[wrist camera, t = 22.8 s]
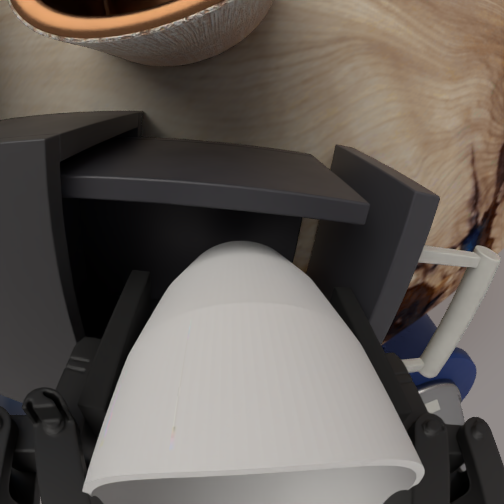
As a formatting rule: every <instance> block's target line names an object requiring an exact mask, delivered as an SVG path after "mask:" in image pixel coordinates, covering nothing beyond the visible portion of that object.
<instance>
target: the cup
mask: <svg viewBox="0 0 504 504" xmlns="http://www.w3.org/2000/svg"><path fill="white" fill-rule="evenodd" d="M424 473H425V470H424V467H423V465H422V463H421V461H420V458H419V456H418V454H417V452H416V450H415V448H414V446H413V444H412V442H411V440H410V438H409V436H408V434H407V432H406V430H405V428H404V426H403V424H402V422H401V420H400V418H399V416H398V414H397V412H396V410H395V408H394V406H393V404H392V402H391V400H390V398H389V396H388V394H387V392H386V390H385V388H384V386H383V384H382V383H381V381H380V379H379V377H378V375H377V373H376V371H375V369H374V368H373V366H372V364H371V362H370V360H369V358H368V356H367V355H366V353H365V351H364V349H363V347H362V345H361V344H360V342H359V341H358V339H357V338H356V337H355V335H354V334H353V333H352V331H351V330H350V329H349V328H348V326H347V325H346V324H345V322H344V321H343V320H342V318H341V317H340V316H339V314H338V313H337V312H336V310H335V309H334V308H333V306H332V305H331V304H330V303H329V301H328V300H327V299H326V297H325V296H324V295H323V293H322V292H321V291H320V290H319V288H318V287H317V286H316V284H315V283H314V282H313V281H312V280H311V278H310V277H309V276H307V275H306V274H305V273H304V272H303V271H301V270H300V269H299V268H298V267H296V266H295V265H294V264H292V263H291V262H290V261H289V260H287V259H286V258H285V257H283V256H282V255H281V254H279V253H278V252H277V251H275V250H274V249H272V248H270V247H268V246H266V245H263V244H260V243H256V242H251V241H231V242H226V243H222V244H219V245H216V246H214V247H212V248H210V249H208V250H207V251H205V252H204V253H202V254H201V255H200V256H199V257H198V258H197V259H196V260H195V261H193V262H192V263H191V264H190V265H189V266H188V267H187V268H186V269H185V270H184V271H183V272H182V273H181V274H180V275H179V276H178V277H177V278H176V279H175V280H174V281H173V282H172V283H171V284H170V286H169V287H168V288H167V290H166V292H165V293H164V295H163V296H162V298H161V300H160V301H159V303H158V305H157V306H156V308H155V310H154V311H153V313H152V315H151V317H150V318H149V320H148V322H147V323H146V325H145V327H144V328H143V330H142V332H141V334H140V335H139V337H138V339H137V341H136V342H135V344H134V346H133V348H132V349H131V351H130V353H129V355H128V357H127V359H126V362H125V364H124V367H123V369H122V372H121V375H120V377H119V380H118V383H117V385H116V388H115V391H114V393H113V396H112V399H111V402H110V405H109V407H108V410H107V413H106V416H105V419H104V422H103V425H102V428H101V431H100V434H99V437H98V440H97V443H96V446H95V449H94V452H93V455H92V459H91V462H90V465H89V468H88V472H87V475H86V479H85V482H84V486H83V490H82V492H85V493H88V494H89V495H90V496H91V497H92V496H97V497H98V498H99V499H100V500H101V501H102V502H103V504H383V503H384V502H385V501H386V500H387V499H388V498H389V497H390V496H391V495H392V494H394V493H395V492H397V491H400V490H409V489H410V488H411V487H413V486H415V485H417V484H418V483H419V482H420V481H421V479H422V478H423V476H424Z"/></svg>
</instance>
